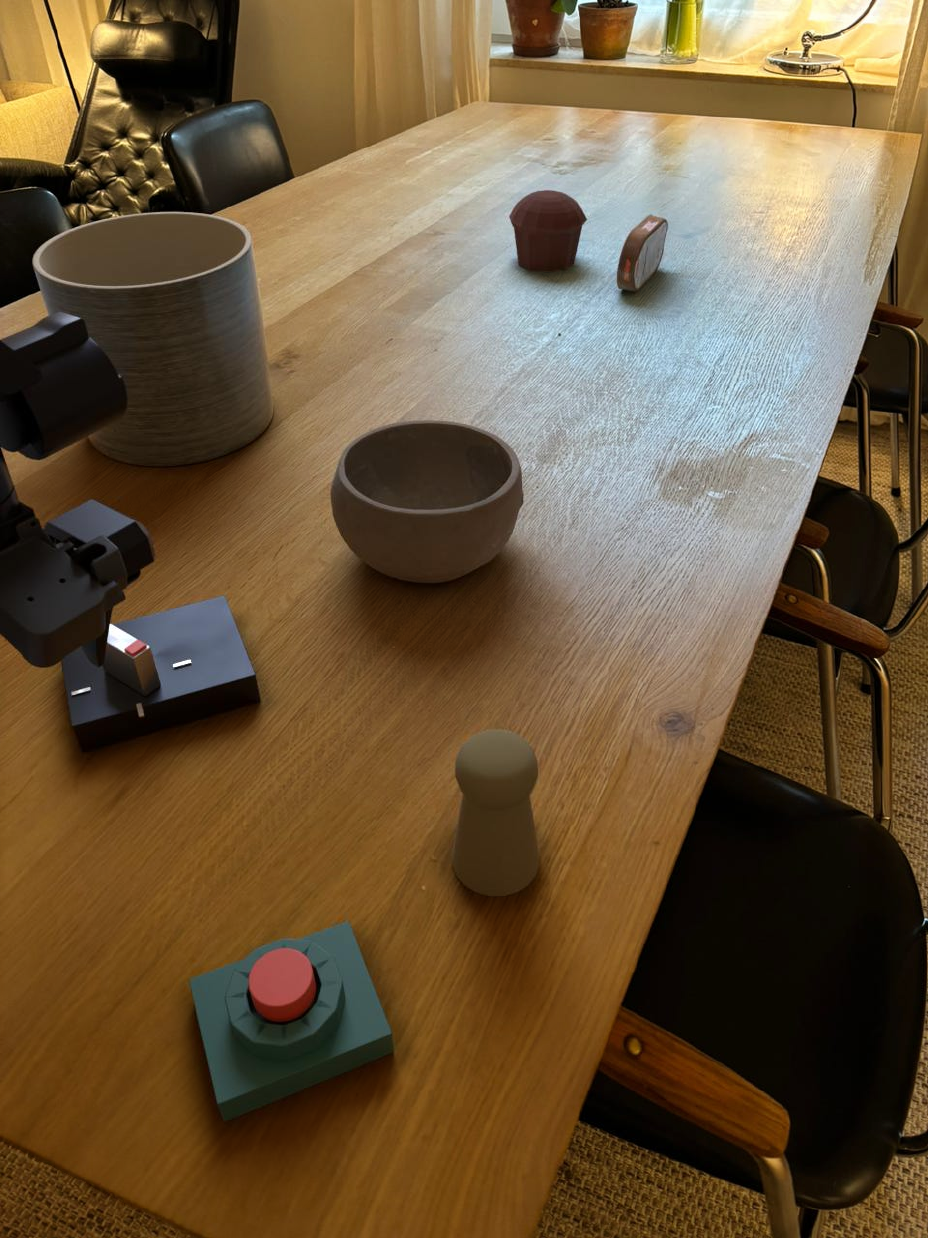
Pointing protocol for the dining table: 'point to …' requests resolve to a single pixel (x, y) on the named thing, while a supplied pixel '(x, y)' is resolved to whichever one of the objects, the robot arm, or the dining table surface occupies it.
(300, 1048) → the button block
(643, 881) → the dining table surface
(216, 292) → the planter
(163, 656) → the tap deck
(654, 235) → the tin
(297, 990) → the button
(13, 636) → the robot arm
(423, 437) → the bowl
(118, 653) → the grey rectangular block
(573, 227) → the muffin
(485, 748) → the brown pawn
